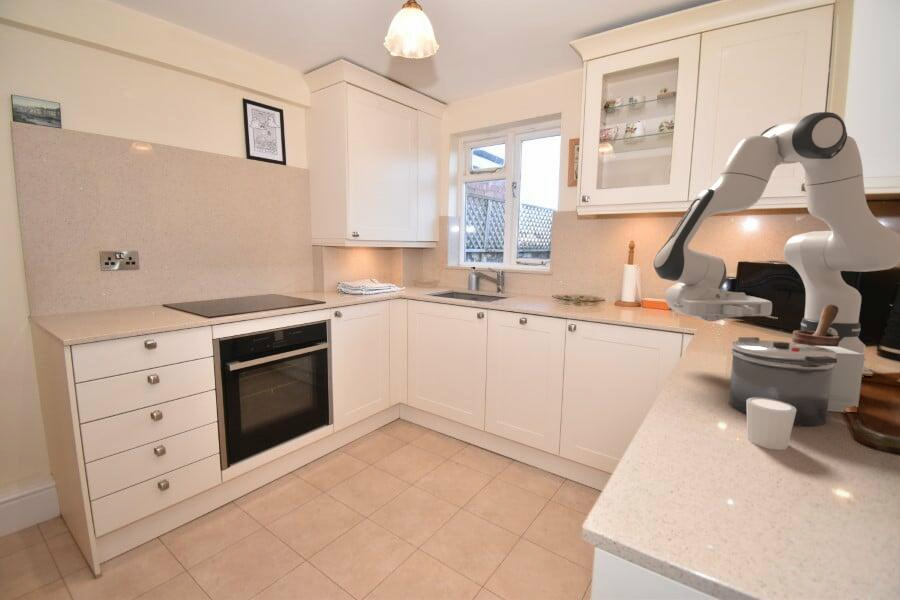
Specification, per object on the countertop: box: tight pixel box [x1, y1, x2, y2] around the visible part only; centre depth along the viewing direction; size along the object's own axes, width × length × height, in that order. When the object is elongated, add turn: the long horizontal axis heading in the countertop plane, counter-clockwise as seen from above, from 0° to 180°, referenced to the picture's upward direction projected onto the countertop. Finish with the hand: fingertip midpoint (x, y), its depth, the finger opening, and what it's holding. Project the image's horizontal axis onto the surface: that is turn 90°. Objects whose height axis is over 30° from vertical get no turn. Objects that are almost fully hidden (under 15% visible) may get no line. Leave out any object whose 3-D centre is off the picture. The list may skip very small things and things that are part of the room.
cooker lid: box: [731, 336, 837, 363], centre depth 83 cm, size 20×17×2 cm
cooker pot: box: [728, 347, 835, 428], centre depth 84 cm, size 17×17×12 cm
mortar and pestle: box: [791, 305, 839, 347], centre depth 101 cm, size 12×9×20 cm
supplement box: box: [817, 346, 865, 413], centre depth 87 cm, size 7×7×13 cm
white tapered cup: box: [746, 398, 796, 451], centre depth 70 cm, size 7×7×7 cm
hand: (747, 312), depth 93 cm, fingers closed
